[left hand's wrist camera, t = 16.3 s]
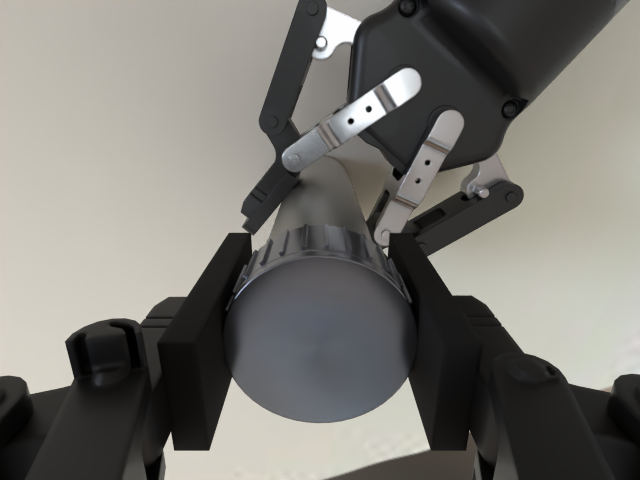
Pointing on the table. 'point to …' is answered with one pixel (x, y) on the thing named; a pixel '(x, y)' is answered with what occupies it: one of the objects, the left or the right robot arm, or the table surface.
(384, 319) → the lid
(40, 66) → the table surface
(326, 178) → the grey long cylinder
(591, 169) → the table surface
